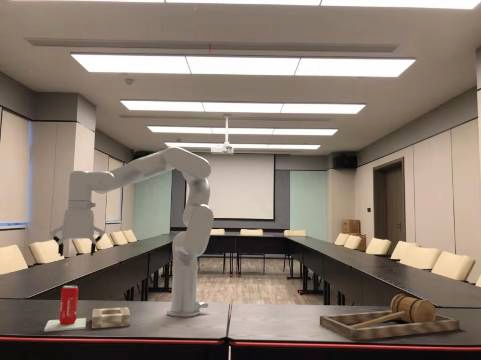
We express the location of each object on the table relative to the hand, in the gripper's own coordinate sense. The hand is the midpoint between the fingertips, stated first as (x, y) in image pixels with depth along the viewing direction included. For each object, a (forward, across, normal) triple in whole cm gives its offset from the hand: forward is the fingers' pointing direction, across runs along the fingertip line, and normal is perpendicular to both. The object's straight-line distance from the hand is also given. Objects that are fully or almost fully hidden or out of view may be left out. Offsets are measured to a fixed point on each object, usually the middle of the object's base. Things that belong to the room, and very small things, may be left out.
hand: (76, 255), depth 129 cm
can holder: (+23, -12, +2) cm, 26 cm away
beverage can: (+22, +2, +1) cm, 22 cm away
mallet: (+25, -101, +36) cm, 110 cm away
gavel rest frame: (+25, -103, +36) cm, 112 cm away
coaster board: (+23, +2, +2) cm, 23 cm away
